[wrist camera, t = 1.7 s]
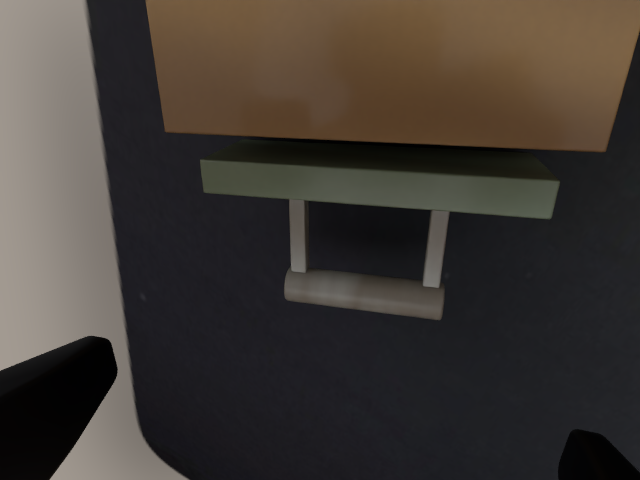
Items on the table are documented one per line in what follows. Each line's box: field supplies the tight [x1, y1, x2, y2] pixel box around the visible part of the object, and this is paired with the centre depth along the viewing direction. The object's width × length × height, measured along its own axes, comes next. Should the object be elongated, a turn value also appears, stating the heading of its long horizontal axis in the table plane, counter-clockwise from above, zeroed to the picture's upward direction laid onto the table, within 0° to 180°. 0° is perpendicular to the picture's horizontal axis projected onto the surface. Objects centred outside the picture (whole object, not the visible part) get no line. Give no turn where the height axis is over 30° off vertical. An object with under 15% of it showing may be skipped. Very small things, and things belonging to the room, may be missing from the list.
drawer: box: [200, 139, 560, 320], centre depth 13 cm, size 18×11×4 cm, turn 0°
